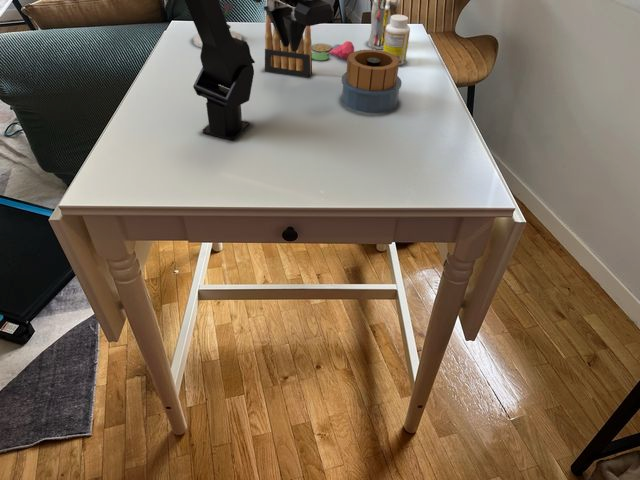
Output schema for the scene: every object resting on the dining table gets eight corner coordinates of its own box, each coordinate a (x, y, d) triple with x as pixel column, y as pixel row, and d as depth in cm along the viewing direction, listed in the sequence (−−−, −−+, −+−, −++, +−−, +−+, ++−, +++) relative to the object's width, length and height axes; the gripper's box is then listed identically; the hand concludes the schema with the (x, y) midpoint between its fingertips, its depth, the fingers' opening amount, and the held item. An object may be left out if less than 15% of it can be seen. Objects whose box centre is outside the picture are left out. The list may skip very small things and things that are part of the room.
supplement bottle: (394, 55, 119) (401, 11, 112) (409, 63, 116) (417, 18, 109) (377, 59, 117) (382, 15, 110) (391, 68, 114) (398, 22, 107)
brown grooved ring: (387, 94, 92) (390, 73, 89) (339, 84, 95) (341, 63, 92) (401, 75, 99) (404, 54, 96) (356, 66, 102) (358, 46, 99)
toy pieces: (362, 50, 121) (364, 32, 118) (346, 66, 113) (347, 47, 110) (319, 42, 124) (319, 24, 121) (300, 57, 117) (300, 38, 114)
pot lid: (391, 103, 92) (395, 77, 88) (332, 91, 95) (334, 65, 91) (407, 79, 100) (411, 54, 97) (352, 68, 103) (354, 44, 100)
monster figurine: (192, 33, 126) (186, -10, 119) (238, 31, 128) (235, -12, 121) (195, 51, 117) (188, 5, 110) (244, 48, 119) (241, 3, 113)
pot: (388, 120, 95) (391, 99, 92) (334, 108, 98) (335, 87, 95) (402, 96, 103) (405, 76, 100) (352, 86, 105) (353, 66, 103)
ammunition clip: (312, 74, 109) (313, 19, 101) (310, 77, 108) (311, 21, 100) (267, 68, 111) (265, 13, 103) (264, 71, 110) (262, 15, 102)
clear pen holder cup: (362, 47, 123) (369, -18, 113) (370, 38, 128) (377, -25, 117) (389, 52, 121) (398, -14, 111) (396, 42, 126) (405, -21, 116)
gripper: (359, -36, 83) (352, 55, 93) (295, -57, 94) (295, 27, 104) (308, -27, 78) (306, 68, 88) (245, -51, 88) (251, 37, 99)
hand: (290, 48), depth 95 cm, fingers closed
